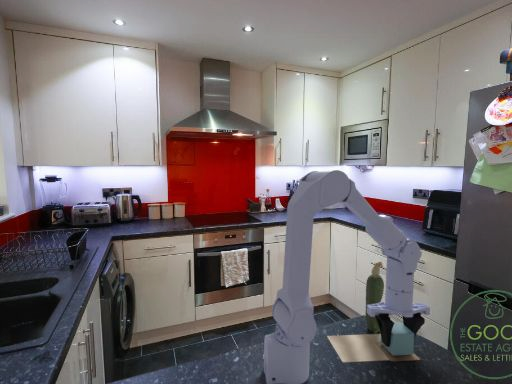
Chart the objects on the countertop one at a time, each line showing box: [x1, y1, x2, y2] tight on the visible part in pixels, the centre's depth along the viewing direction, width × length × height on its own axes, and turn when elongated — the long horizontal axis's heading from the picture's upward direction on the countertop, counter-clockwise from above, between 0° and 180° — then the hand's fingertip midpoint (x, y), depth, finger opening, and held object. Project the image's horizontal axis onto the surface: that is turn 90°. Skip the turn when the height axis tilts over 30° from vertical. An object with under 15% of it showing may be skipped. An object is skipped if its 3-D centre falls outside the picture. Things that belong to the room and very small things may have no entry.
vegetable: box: [365, 261, 385, 334], centre depth 73 cm, size 4×4×20 cm
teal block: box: [380, 321, 415, 356], centre depth 64 cm, size 5×5×5 cm
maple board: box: [326, 333, 421, 363], centre depth 65 cm, size 18×10×1 cm, turn 95°
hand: (396, 343), depth 64 cm, fingers closed on teal block, 5 cm apart
